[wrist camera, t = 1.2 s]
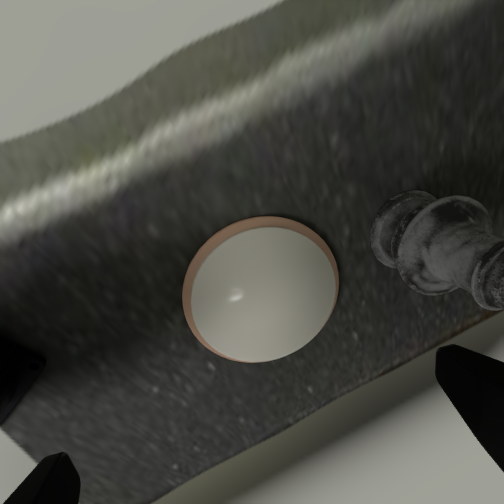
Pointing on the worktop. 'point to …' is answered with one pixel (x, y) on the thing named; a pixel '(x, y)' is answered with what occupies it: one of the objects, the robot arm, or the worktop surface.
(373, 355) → the worktop surface
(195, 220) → the worktop surface
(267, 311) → the coaster
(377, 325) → the worktop surface
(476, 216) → the dark chess piece
